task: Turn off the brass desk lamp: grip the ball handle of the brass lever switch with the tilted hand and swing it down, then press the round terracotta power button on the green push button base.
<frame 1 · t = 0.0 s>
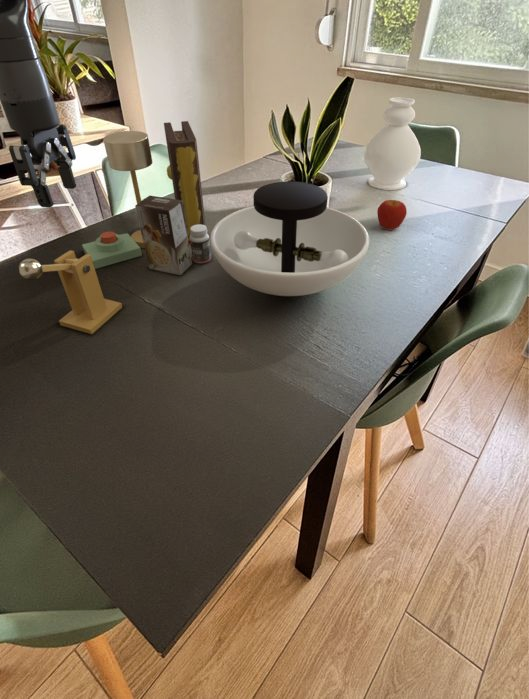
hand: (59, 196, 77), 24 cm above the table, tool pointing down, fingers open, 8 cm apart
decorative vase: (386, 183, 145), on the table
lamp switch: (53, 267, 77), point 14 cm above the table, hinge at 25.0°
switch bracket: (92, 316, 90), on the table
desk lamp: (147, 240, 115), on the table
green push button base: (112, 253, 110), on the table
coffee box: (170, 267, 105), on the table
book: (191, 226, 122), on the table
pill bottle: (201, 259, 107), on the table
power button: (108, 237, 107), point 4 cm above the table, slide at 0.1 cm
apple: (388, 228, 120), on the table
light fixture: (287, 286, 98), on the table
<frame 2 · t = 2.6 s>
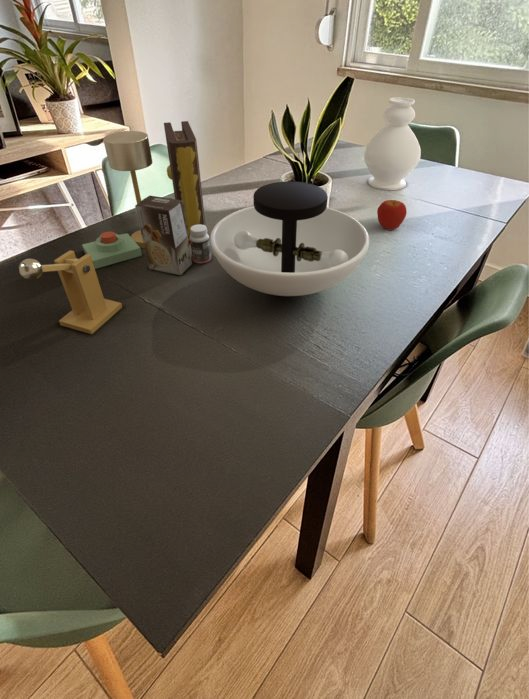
nothing on the table moved.
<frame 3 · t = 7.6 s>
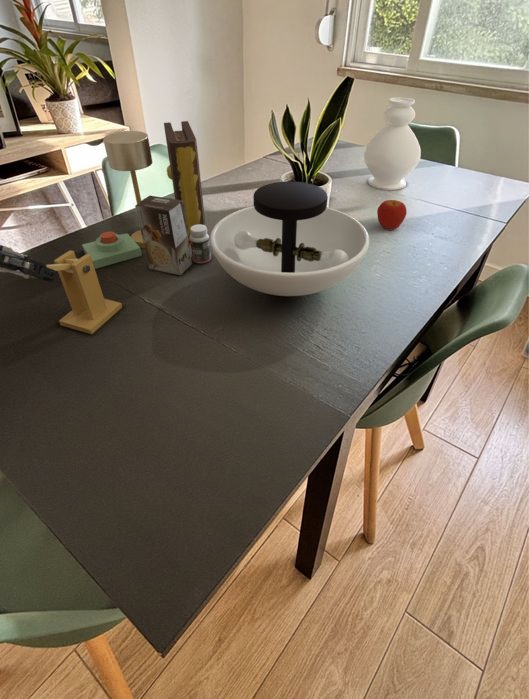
hand: (43, 273, 75), 14 cm above the table, tool tilted 45°, fingers closed on lamp switch, 3 cm apart
lamp switch: (53, 267, 77), point 14 cm above the table, hinge at 24.9°, touching gripper
everything else where it was.
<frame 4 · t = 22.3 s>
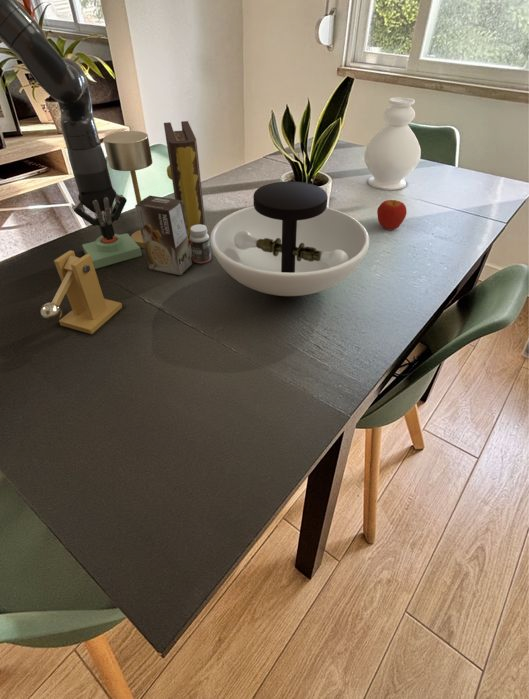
hand: (109, 238, 107), 4 cm above the table, tool pointing down, fingers closed
lamp switch: (62, 289, 80), point 9 cm above the table, hinge at -30.5°
power button: (109, 241, 107), point 4 cm above the table, slide at -0.9 cm, touching gripper
everything else where it was.
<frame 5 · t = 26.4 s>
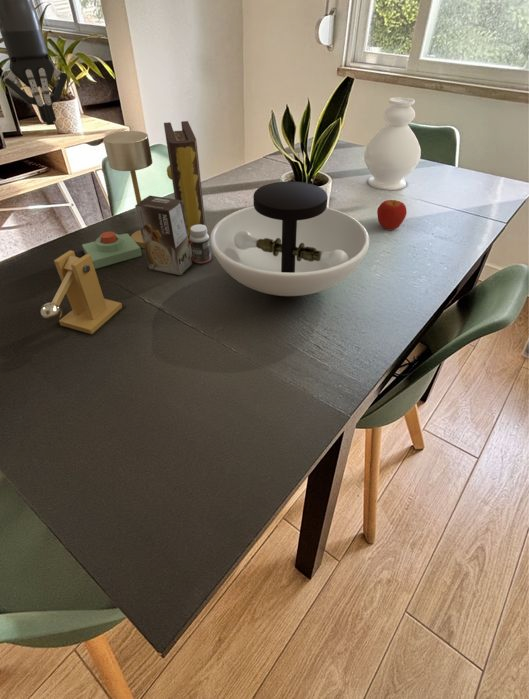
hand: (50, 124, 95), 29 cm above the table, tool pointing down, fingers closed
power button: (108, 237, 107), point 4 cm above the table, slide at 0.1 cm
everything else where it was.
at the end: lamp switch at -30° (first picture: +25°); power button pushed in 1.1 cm at the most during the clip, back to where it started at the end; power button slide at 0.1 cm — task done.
